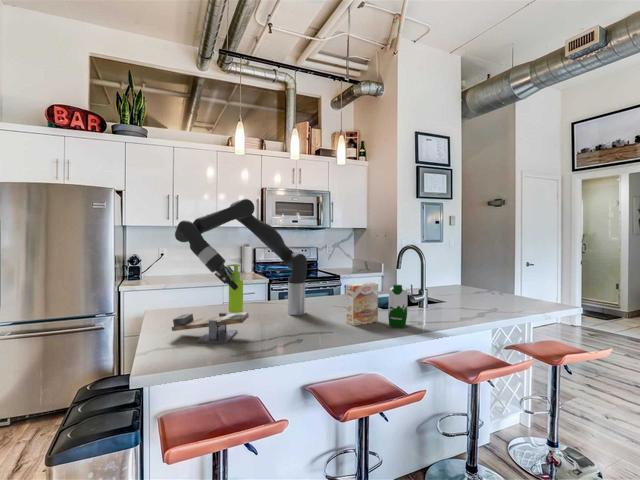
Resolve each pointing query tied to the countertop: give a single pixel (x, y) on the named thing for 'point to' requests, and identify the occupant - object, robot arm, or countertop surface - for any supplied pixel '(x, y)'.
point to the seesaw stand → (217, 333)
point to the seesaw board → (206, 321)
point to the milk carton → (397, 306)
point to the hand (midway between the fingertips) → (238, 287)
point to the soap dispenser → (236, 292)
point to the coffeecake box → (361, 303)
